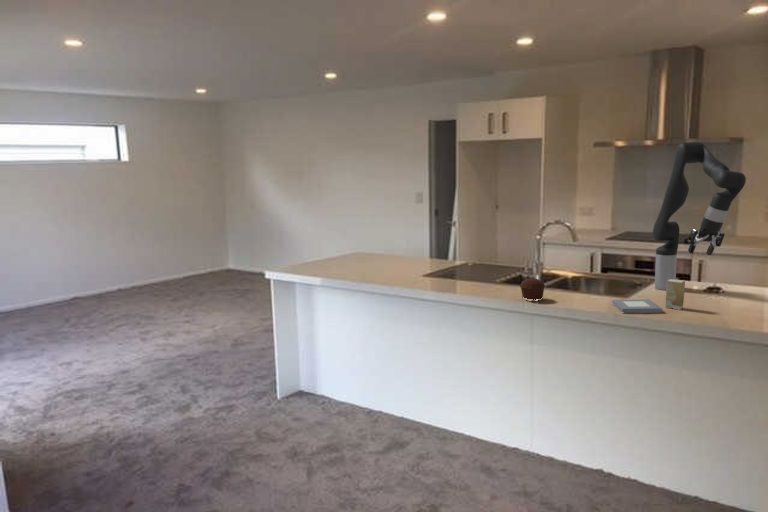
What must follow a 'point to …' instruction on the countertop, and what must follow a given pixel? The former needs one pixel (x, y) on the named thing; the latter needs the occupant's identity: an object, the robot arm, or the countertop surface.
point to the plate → (637, 306)
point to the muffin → (532, 288)
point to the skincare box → (675, 294)
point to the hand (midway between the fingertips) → (699, 253)
